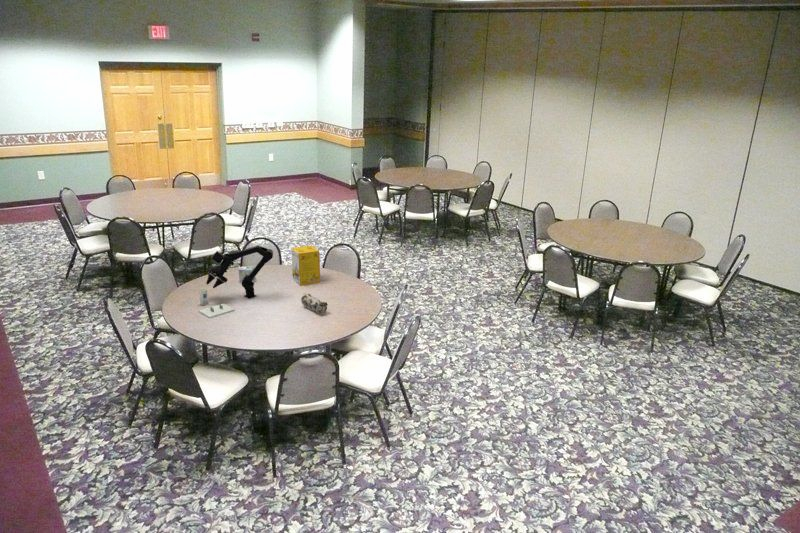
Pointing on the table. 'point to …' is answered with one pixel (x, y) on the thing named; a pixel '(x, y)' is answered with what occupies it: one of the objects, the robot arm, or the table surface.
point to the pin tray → (216, 310)
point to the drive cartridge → (203, 297)
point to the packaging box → (305, 265)
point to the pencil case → (314, 303)
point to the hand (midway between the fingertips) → (209, 286)
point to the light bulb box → (245, 272)
